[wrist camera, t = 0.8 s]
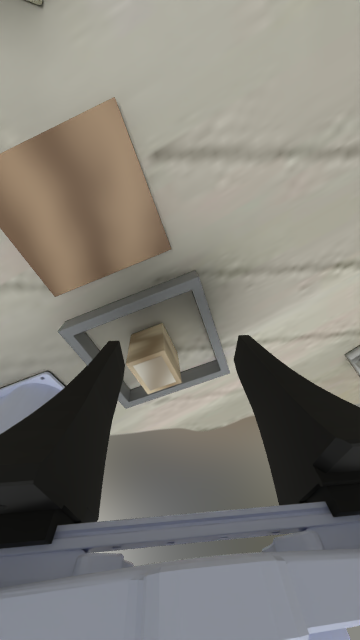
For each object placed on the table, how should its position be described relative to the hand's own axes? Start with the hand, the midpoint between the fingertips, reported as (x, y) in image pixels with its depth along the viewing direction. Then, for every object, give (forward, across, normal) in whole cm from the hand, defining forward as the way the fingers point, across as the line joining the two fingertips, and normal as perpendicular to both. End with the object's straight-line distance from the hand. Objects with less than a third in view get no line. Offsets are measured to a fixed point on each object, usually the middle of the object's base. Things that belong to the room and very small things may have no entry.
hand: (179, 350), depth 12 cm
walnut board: (+10, +8, -6) cm, 14 cm away
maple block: (+10, +2, +8) cm, 13 cm away
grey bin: (+10, +2, +8) cm, 13 cm away
